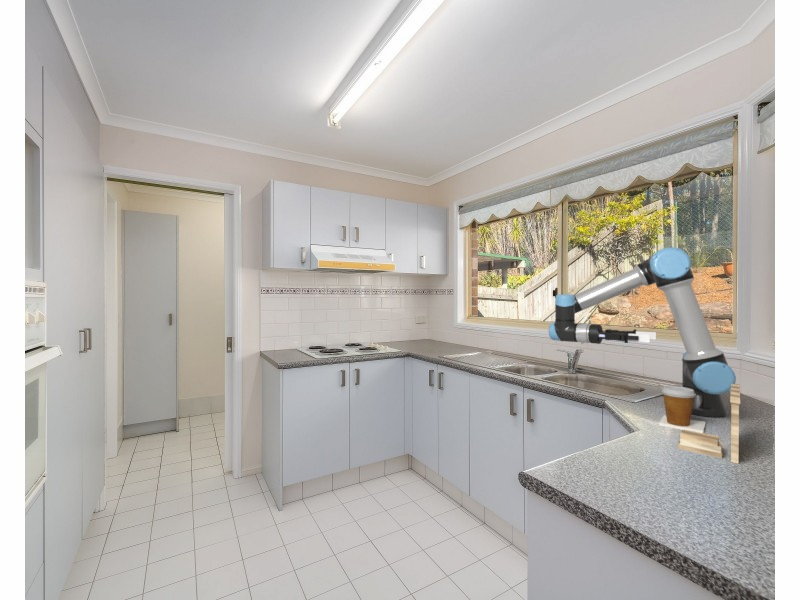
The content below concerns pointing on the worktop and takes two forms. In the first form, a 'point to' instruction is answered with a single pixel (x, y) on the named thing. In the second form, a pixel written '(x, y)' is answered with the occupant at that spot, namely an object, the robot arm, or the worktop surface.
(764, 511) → the worktop surface
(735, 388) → the pine panel
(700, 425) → the white square coaster
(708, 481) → the worktop surface
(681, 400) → the disposable coffee cup
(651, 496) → the worktop surface
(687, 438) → the offcut stack
